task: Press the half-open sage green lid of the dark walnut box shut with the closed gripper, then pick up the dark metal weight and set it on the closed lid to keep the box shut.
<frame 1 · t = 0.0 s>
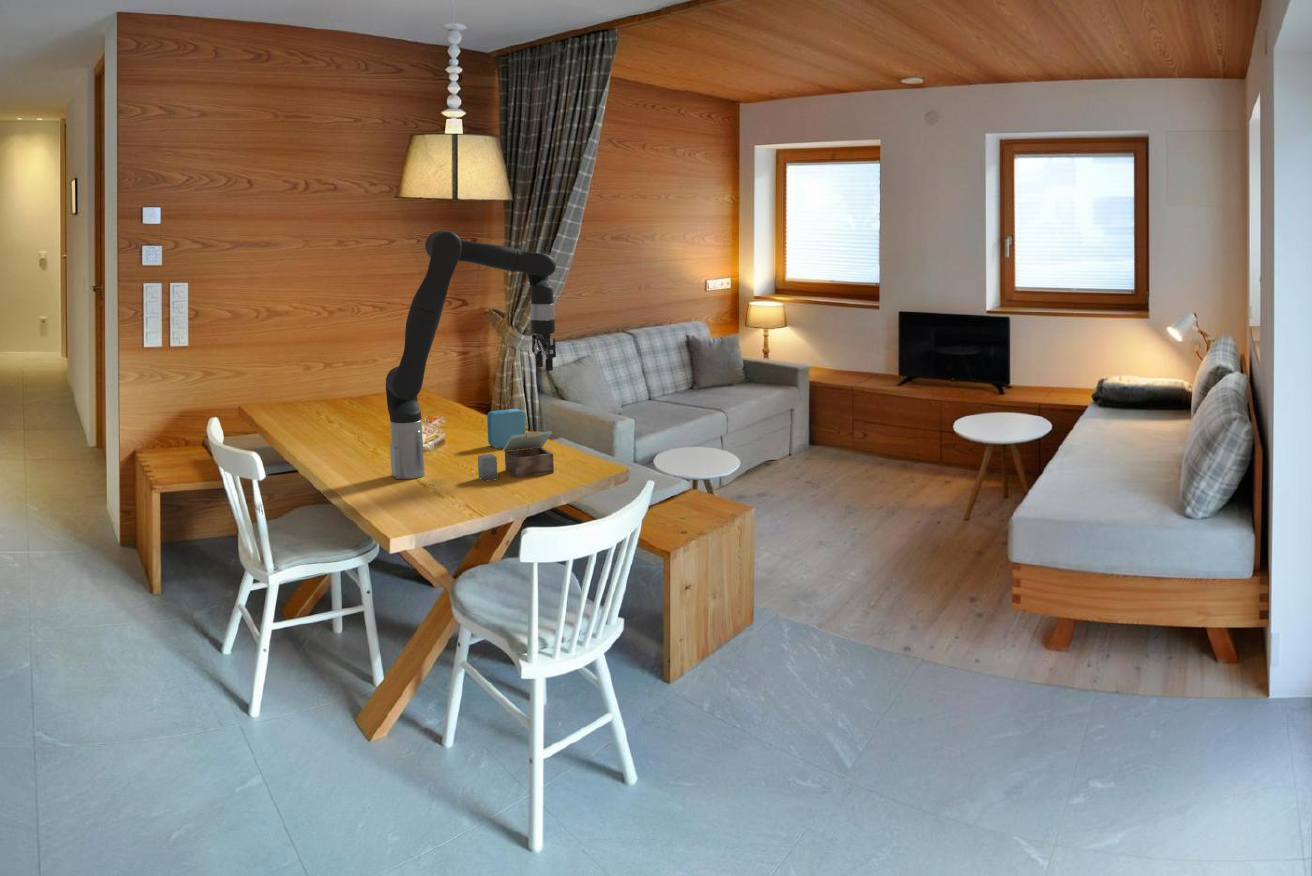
hand: (544, 368, 333), 29 cm above the table, tool pointing down, fingers open, 8 cm apart
box lid: (527, 441, 322), point 9 cm above the table, hinge at 35.0°
data package: (507, 446, 358), on the table
metal weight: (488, 478, 315), on the table
walnut box: (529, 471, 323), on the table
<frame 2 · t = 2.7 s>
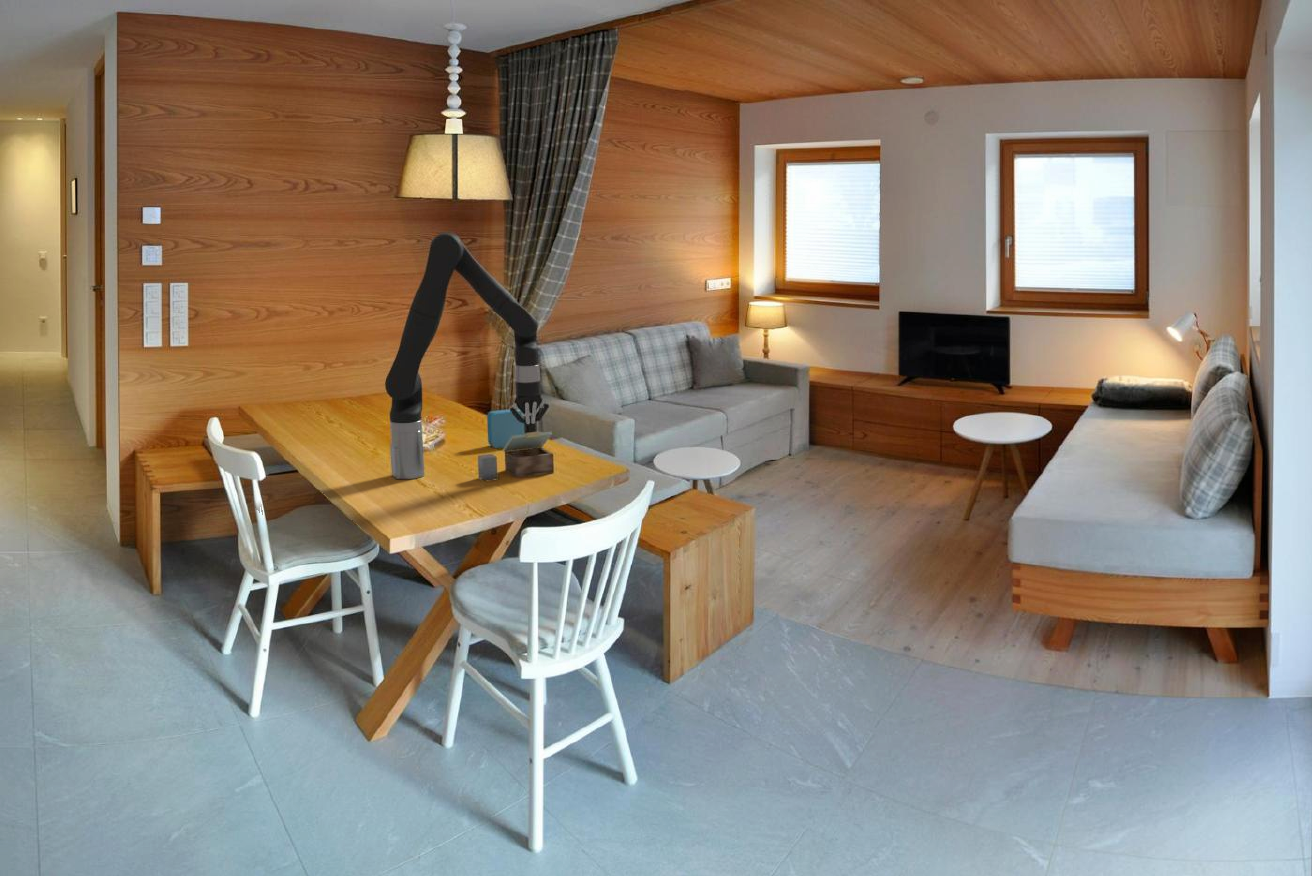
hand: (529, 435, 320), 12 cm above the table, tool pointing down, fingers closed
box lid: (527, 441, 322), point 9 cm above the table, hinge at 34.3°, touching gripper
everything else where it was.
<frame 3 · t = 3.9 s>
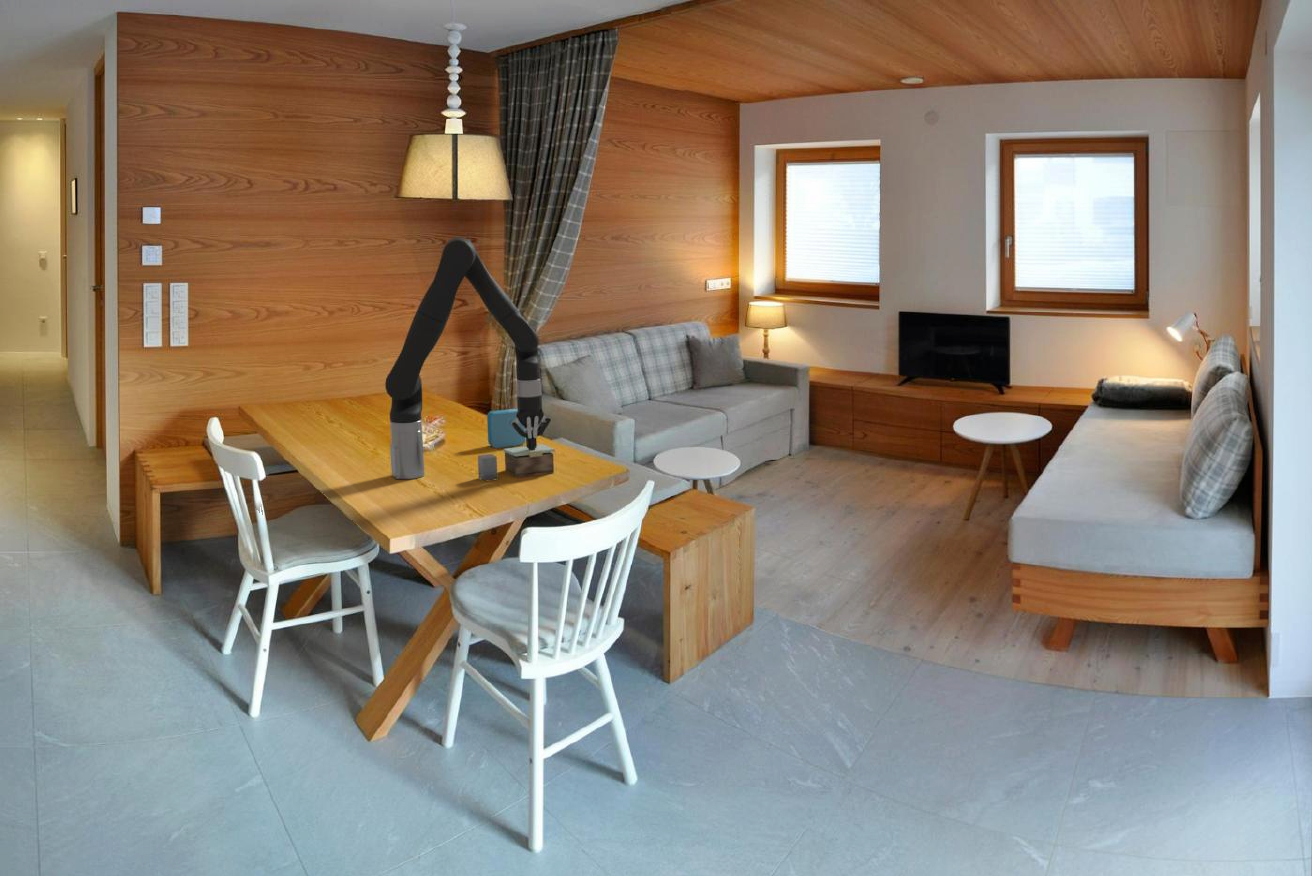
hand: (531, 449, 320), 7 cm above the table, tool pointing down, fingers closed
box lid: (529, 451, 321), point 7 cm above the table, hinge at 3.7°, touching gripper
everything else where it was.
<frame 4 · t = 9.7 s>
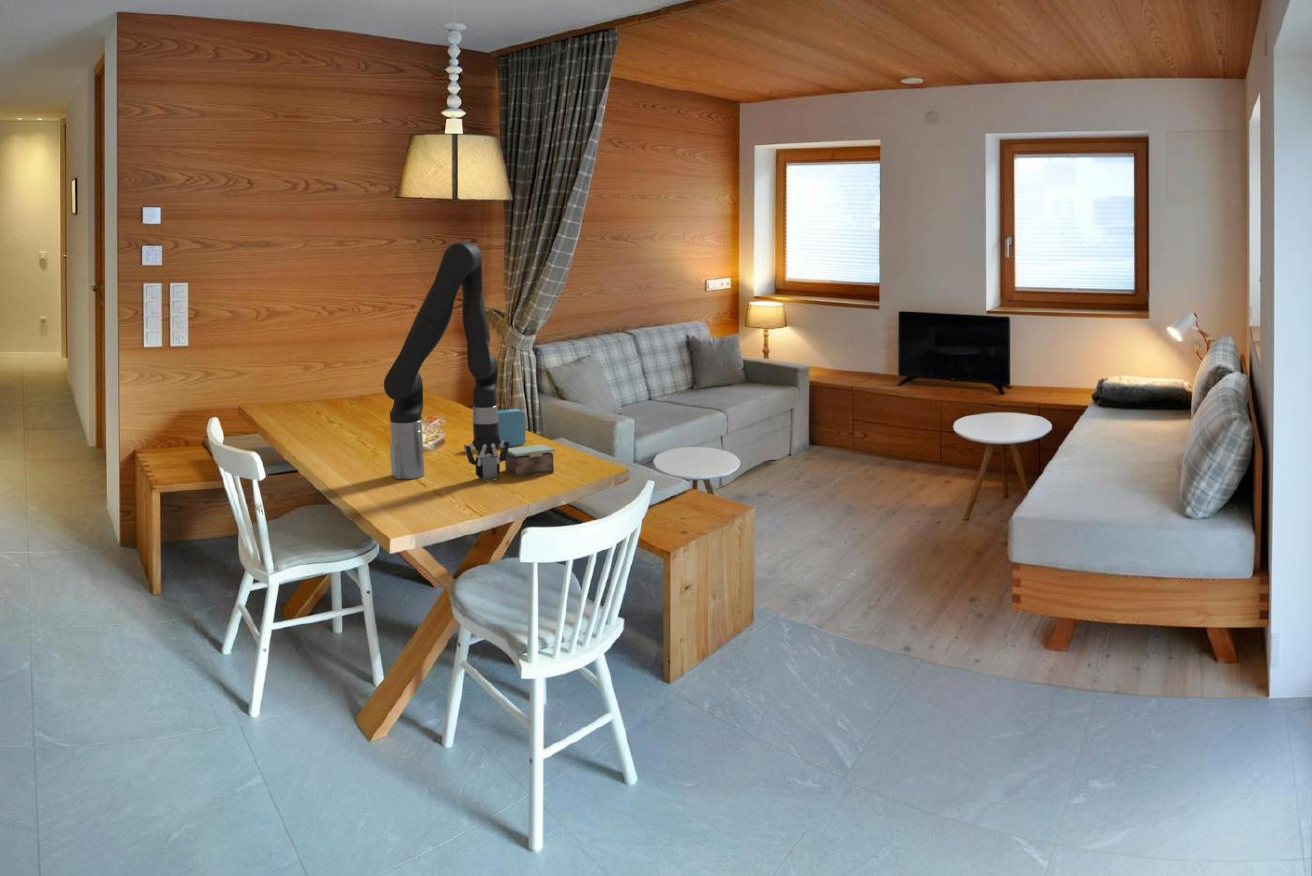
hand: (488, 476, 315), 1 cm above the table, tool pointing down, fingers closed on metal weight, 4 cm apart
box lid: (529, 451, 321), point 7 cm above the table, hinge at 3.6°
metal weight: (488, 478, 315), on the table, touching gripper
everything else where it was.
when the fingers open (9 cm above the table, at t = 14.9 s): metal weight drops 1 cm, resting on box lid.
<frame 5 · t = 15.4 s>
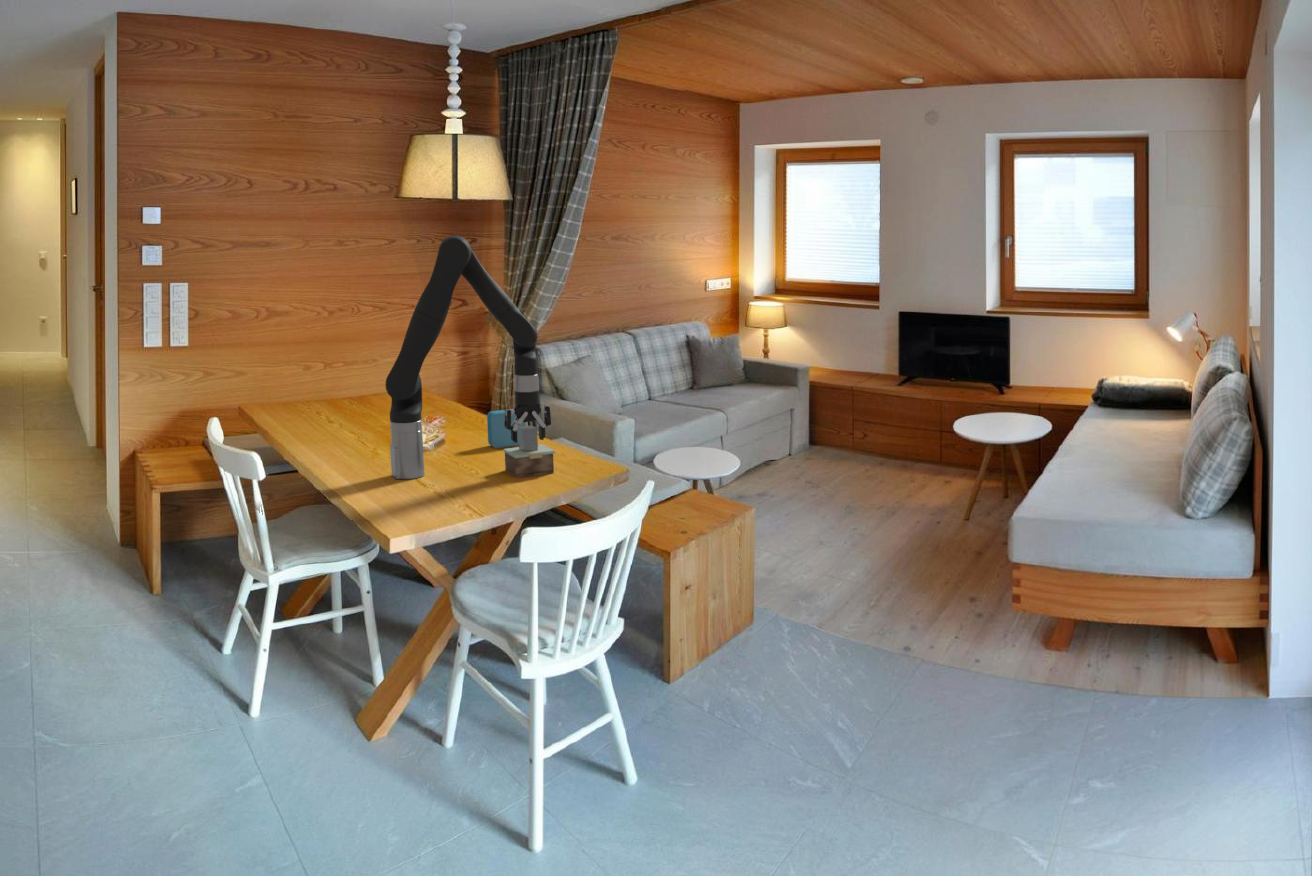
hand: (528, 440, 321), 10 cm above the table, tool pointing down, fingers open, 8 cm apart
box lid: (529, 452, 321), point 6 cm above the table, hinge at 0.9°, touching metal weight
metal weight: (528, 449, 322), point 7 cm above the table, touching box lid
everything else where it was.
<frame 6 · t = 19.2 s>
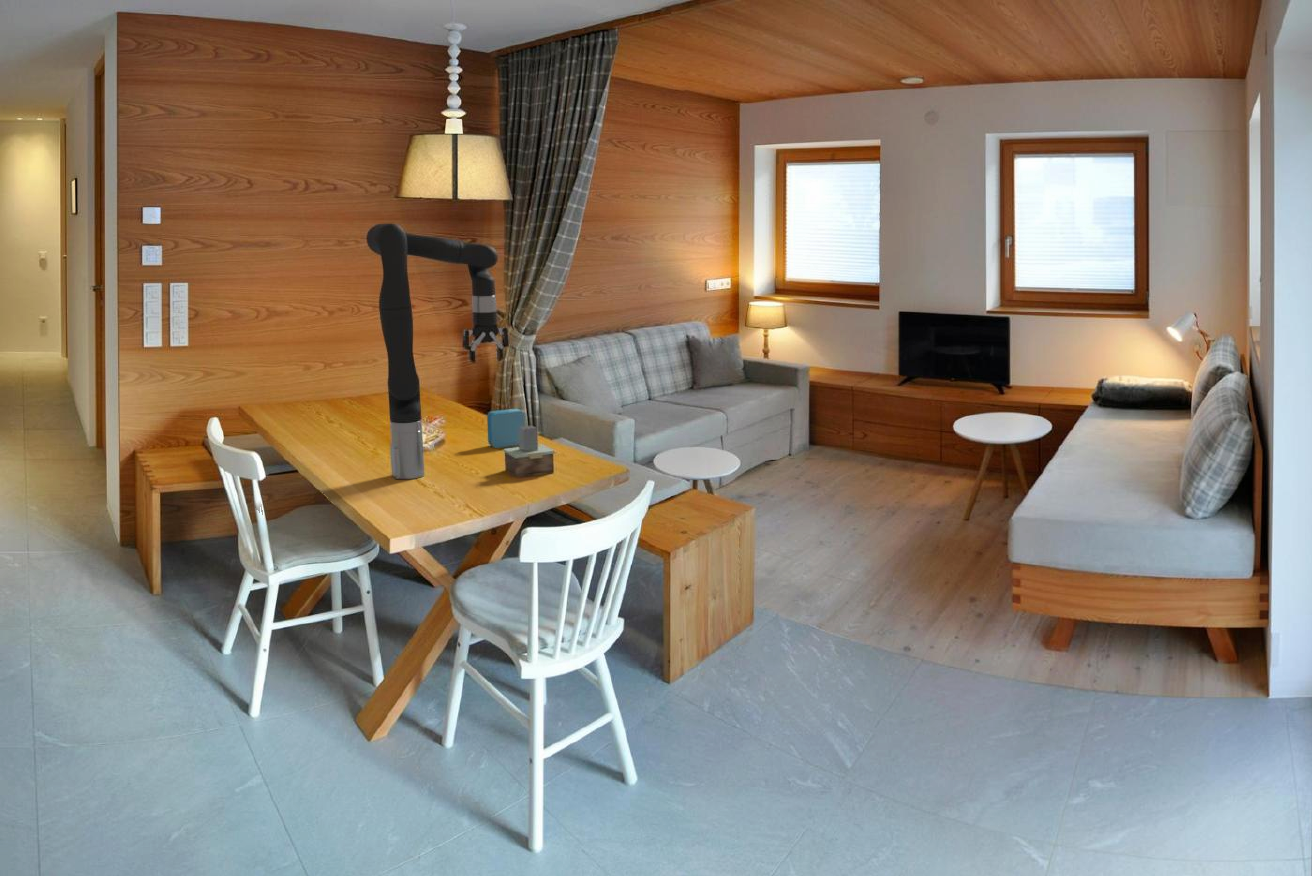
hand: (486, 361, 330), 32 cm above the table, tool pointing down, fingers open, 8 cm apart
nothing on the table moved.
at the end: box lid at +1° (first picture: +35°); metal weight inside the target area on the walnut box (0.1 cm from its centre), point 6.9 cm above the walnut box's base; metal weight tilted 1° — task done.
